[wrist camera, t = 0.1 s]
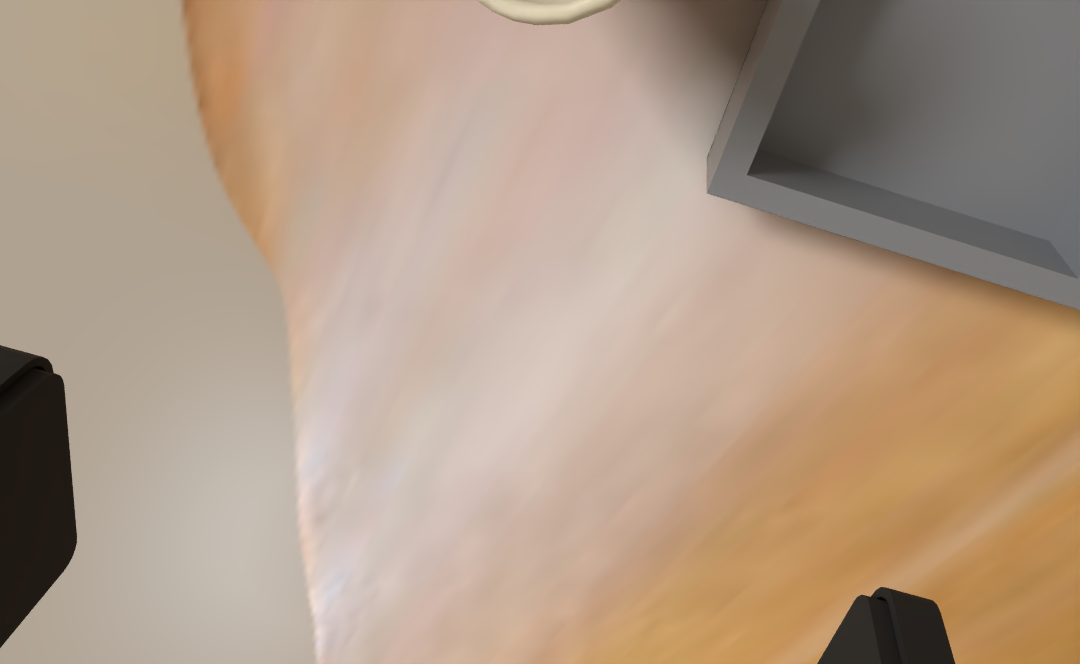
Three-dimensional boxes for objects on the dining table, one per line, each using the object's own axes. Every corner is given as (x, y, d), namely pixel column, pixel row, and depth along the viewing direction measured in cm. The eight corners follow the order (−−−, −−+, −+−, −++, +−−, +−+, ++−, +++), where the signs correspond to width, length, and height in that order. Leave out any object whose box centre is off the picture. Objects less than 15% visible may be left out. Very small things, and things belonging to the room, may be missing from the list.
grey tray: (871, -268, 31) (892, -275, 28) (1317, -128, 31) (1392, -117, 28) (706, 158, 39) (706, 193, 36) (1056, 268, 40) (1089, 313, 36)
